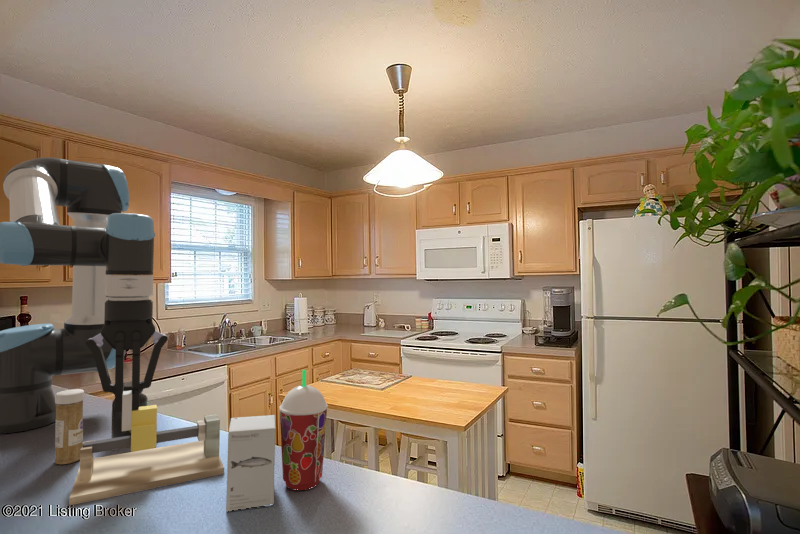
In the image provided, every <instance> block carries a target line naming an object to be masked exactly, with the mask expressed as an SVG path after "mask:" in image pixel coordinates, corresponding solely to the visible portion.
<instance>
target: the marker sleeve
mask: <svg viewBox="0 0 800 534" xmlns="http://www.w3.org/2000/svg"><path fill="white" fill-rule="evenodd" d="M157 416H158V406H157V404H152V405H148V406H141V407H139V408H138V410H132V424H131V447H130V452H135V451H141V450H147V449H153V448H157V443H156V440H157V432H158V430H157V427H158V424H157V423H158V422H157V421H158V419H157V418H158V417H157Z"/></svg>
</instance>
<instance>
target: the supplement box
mask: <svg viewBox="0 0 800 534" xmlns="http://www.w3.org/2000/svg"><path fill="white" fill-rule="evenodd" d="M276 422H277V421H276V415H275V414H271V415H270V414H268V415H256V416H253V415H252V416H237V417H231V418H230V422H229V426H228V428H229V429H228V434H227V435H228V437H227V438H228V439H227V462H226V463H227V468H226V471H227V472H226V473H227V474H226V503H225V511H227V512H226V513H229V512H232V510H234V511H239V510H238V509H241V510H247V509H246V508H249V509H252V508H251V507H257V506H264V505H270V504H274V505H275V465H276V464H275V463H276V462H275V458H276V426H277V425H276ZM257 508H258V507H257ZM228 511H229V512H228Z"/></svg>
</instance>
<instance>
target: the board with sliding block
mask: <svg viewBox="0 0 800 534" xmlns="http://www.w3.org/2000/svg"><path fill="white" fill-rule="evenodd" d="M196 422H197V423H196V426H198V437H197V440H198V441H197V440H196V441H191V442H186V443H179V444H173V445H165V446H160V447H156V448H153V449H147V450H140V451H134V452H131V451H130V452H124V453H117V454H112V455H106V456H99V457H94V456H95V455H94V454H95V453H92V447H85V448H83V445H84V442H90V441H91V440H88V441H82V448H81V449H80V460H79V467H78V471H77V474H76V475H75V476H76V477H75V479H74V483H73V486H72V489H71V492H70V495H69V504H68V505H69V506H73V505H77V504H83V503H87V502H88V503H89V502H93V501H98V500H102V499H108V498H112V497H117V496H123V495H127V494H132V493H139V492H143V491H148V490H152V489H157V488H156V487H158V488H161V487H160V486H163V487H166V486H165V485H167V486H171V485H170V484H172V485H176V484H175V483H177V484H182V483H186V481H187V482H191V481H190V480H192V481H196V479H197V480H201V479H200V478H202V479H206V478H207V479H208V478H211V477H216V476H220V475H221V474H222V475H225V467H224V463H223V461H222V459H221V457H220V443H221V442H220V439H221V438H220V434H221V433H220V432H221V429H220V428H221V419H220V418H219V415H218V414H217V413H215V414H208V415H204V416H203V420H202V419H201V420H197V421H196ZM92 441H95V439H93V440H92ZM181 482H182V483H181ZM147 489H148V490H147ZM142 490H143V491H142Z"/></svg>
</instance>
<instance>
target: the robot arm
mask: <svg viewBox="0 0 800 534" xmlns="http://www.w3.org/2000/svg"><path fill="white" fill-rule="evenodd" d="M2 185H3V186H2V188H3V192H4V196H6V198H7V199H8V200H9V221H1V222H0V264H2V265H18V266H21V267H28V266H71V267H72V291H71V292H72V294H71V295H72V296H71V314H70V315H69V316H68V317H67V318H66V319H65V320H64V323H63V328H55V325H53V324H52V323H49V322H48V323H36V324H28V325H22V326H17V327H16V326H15V327H11V328H7V329H3V330H0V435H1V434H12V433H18V432H23V431H29V430H35V429H38V428H41V427H42V428H43V427H44V426H48V425H50V424H53V423H54V422H56V403H55V395H56V393H55V392H54V389H53V377H55V376H57V377H58V376H64V375H71V374H81V373H82V374H83V373H92V372H96V373H97V375H98V378H99V380H100V385H101V387H102V392H103V393H112V394H114V399H115V411H116V412H122V431H128V430H131V424H132V410H138V408H139V397H140V391H141V390H143V391H144V389H149V388H150V387H151V385H152V382H153V379H154V375H155V373H156V368H157V365H158V360H159V359H160V354H161V350H162V348H163V347H164V345H165V344H166V342H167V341H168V335H167V334H165V333H162V332H159V331H157V329H156V326H155V325H154V322H153V315H154V314H153V311H154V307H153V306H154V302H153V301H152V299H150V298H151V297H152V296H153V295H154V256H155V255H154V252H155V251H154V250H155V249H154V248H155V236H156V233H155V226H154V225H155V224H154V219H153V218H152V217H151V216H150V215H146V214H141V213H140V214H139V213H129V212H128V213H127V211H128V210H129V207H130V206H129V205H130V191H129V184H128V181H127V178H126V174H125V173H124V171H123V170H122V169H120V168H119V167H116V166H112V165H109V164H108V165H107V164H103V163H93V162H86V161H81V160H79V161H78V160H73V159H63V158H59V157H52V156H51V157H49V156H48V157H37V158H36V157H35V158H32V159H28V160H24V161H22V162H20V163H18V164H16V165H15V166H13V167H11V168H10V169H9V171H8V172H7V173H6V174H5V176H4V178H3V184H2ZM60 206H61V207H66V208H67V210H66V214H67V216H69V217H70V218H71V219H72V220H73V222H74V224H73V225H66V224H60V219H59V213H58V211H57V207H60ZM151 337H153V339H152V343H153V344H154V346H153V348H152V352H151V355H150V358H149V361H148V365H147V369H146V371H145V375H144V379H143V380H141V349H142V348H143V347H145V345H146V344H147V343H148V341H149V340H150V339H151ZM127 350H130V351H132V352H131V353H132V355H131V357H132V358H131V362H132V365H131V368H132V369H131V382H132V390H131V391H123V388H124V387H123V386H124V383H125V381H124V379H125V378H124V374H125V373H124V372H125V351H127ZM114 368H115V373H114V375H115V377H114V383H113V382H112V380H111V377H110V373H109V370H111V369H114Z"/></svg>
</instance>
